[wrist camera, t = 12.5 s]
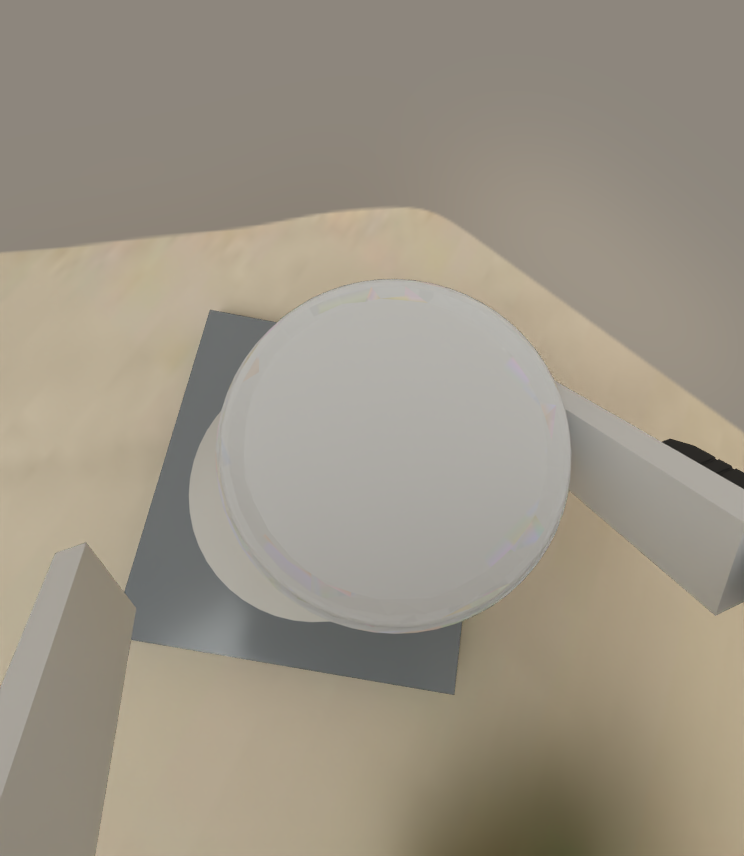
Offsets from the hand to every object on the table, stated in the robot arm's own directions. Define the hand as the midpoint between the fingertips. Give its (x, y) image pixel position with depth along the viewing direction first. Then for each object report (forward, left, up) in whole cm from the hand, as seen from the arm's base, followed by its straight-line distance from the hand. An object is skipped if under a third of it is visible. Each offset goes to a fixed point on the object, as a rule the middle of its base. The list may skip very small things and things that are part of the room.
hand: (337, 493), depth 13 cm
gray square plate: (-1, +1, -11) cm, 11 cm away
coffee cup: (+2, +2, -10) cm, 10 cm away
